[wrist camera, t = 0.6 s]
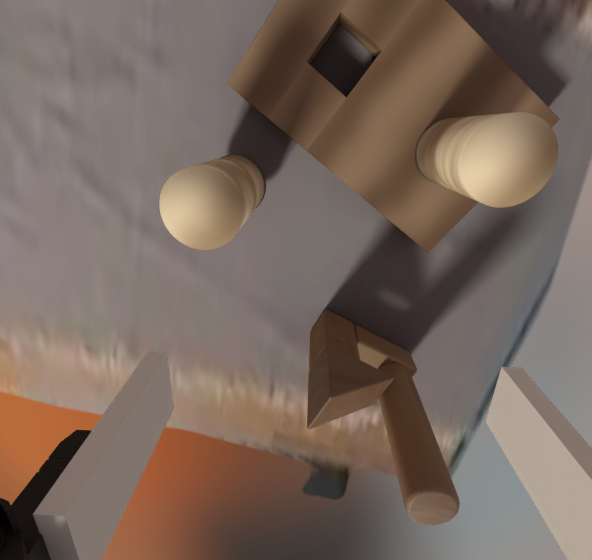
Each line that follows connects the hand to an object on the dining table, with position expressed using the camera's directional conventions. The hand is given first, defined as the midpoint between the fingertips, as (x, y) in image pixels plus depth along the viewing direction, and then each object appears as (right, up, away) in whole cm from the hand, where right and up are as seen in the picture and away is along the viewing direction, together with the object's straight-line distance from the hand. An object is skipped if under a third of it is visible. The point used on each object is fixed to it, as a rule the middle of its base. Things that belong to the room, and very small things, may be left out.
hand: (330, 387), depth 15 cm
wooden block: (+6, -2, +26) cm, 27 cm away
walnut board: (+6, +19, +17) cm, 26 cm away
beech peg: (-6, +14, +20) cm, 25 cm away
